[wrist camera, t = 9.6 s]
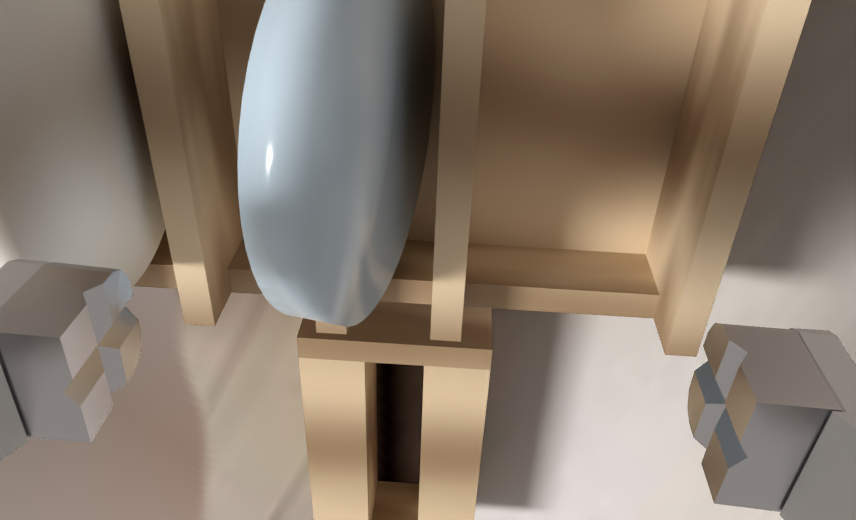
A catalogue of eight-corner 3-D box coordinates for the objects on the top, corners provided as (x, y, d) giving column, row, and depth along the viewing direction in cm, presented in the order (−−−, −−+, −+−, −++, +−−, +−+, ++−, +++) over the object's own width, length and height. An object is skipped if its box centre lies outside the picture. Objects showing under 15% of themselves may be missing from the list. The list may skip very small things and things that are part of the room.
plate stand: (470, 500, 29) (469, 562, 27) (329, 490, 30) (316, 551, 27) (491, 292, 23) (492, 349, 21) (314, 282, 24) (296, 337, 21)
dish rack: (660, 259, 22) (750, 502, 15) (28, 221, 23) (-188, 437, 15) (778, -200, 16) (1053, -174, 8) (-122, -235, 16) (-636, -242, 9)
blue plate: (423, 235, 20) (309, 406, 13) (383, 228, 20) (250, 392, 13) (445, -79, 17) (304, -70, 10) (395, -83, 17) (222, -77, 10)
